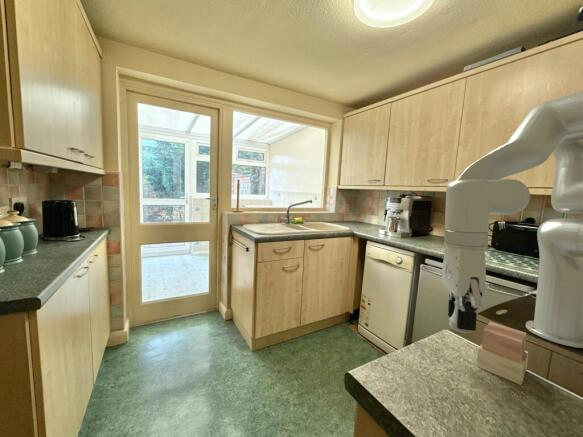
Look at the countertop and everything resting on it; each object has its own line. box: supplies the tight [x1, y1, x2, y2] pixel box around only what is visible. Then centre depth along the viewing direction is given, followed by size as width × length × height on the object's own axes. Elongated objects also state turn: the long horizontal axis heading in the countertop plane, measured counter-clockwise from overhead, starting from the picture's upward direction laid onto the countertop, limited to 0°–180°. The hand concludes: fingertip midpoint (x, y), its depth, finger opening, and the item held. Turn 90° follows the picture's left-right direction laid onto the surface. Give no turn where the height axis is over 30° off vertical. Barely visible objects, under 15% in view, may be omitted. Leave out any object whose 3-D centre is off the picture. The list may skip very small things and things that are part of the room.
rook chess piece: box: [448, 293, 473, 334], centre depth 53 cm, size 4×4×8 cm
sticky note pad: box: [476, 321, 529, 386], centre depth 52 cm, size 7×7×8 cm
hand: (461, 322), depth 53 cm, fingers closed on rook chess piece, 4 cm apart
